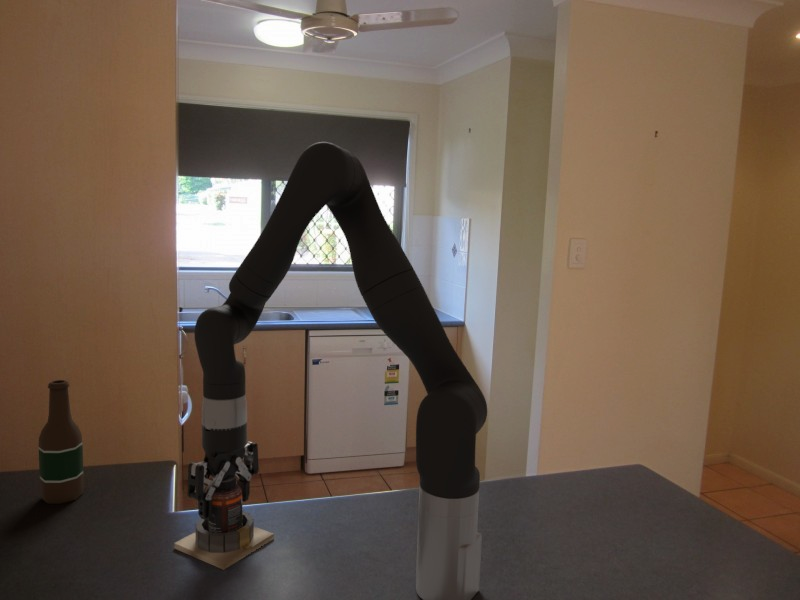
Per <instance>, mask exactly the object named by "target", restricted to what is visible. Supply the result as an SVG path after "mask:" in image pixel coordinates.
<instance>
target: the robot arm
mask: <svg viewBox="0 0 800 600" xmlns="http://www.w3.org/2000/svg"><path fill="white" fill-rule="evenodd" d="M361 162H362V161H360V159H359V158H358V157H357V156H356V155H355V154H354V153H352V152H351V151H349V150H347V149H345V148H343V147H341V146H339V145H337V144H334V143H332V142H327V141H321V142H320V141H319V142H315V143H313V144H311V145H309V146H308V147H307V148H306V149H304V151H302V153H301V154H300V156H299V158H298V159H297V160H296V162H295V164H294V167H293V169H292V171H291V173H290V175H289V178H288V180H287V182H286V184H285V186H284V189H283V191H281V194H280V197H279V199H278V201H277V202H276V205H275V207H274V210H273V211H272V213H271V214H270V217H269V218H268V221H267V222H266V225H265V226H264V227H263V230H262V232H261V233H260V235H259V236H258V237H257V240H256V241H255V243H254V244H253V246H252V248H251V249H250V250H249V252H248V253H247V254H246V256H245V257H244V259H243V260H242V261H241V263H240V265H239V266H238V268H237V269H236V271H235V272H234V273H233V275H232V277H231V278H230V281H229V284H228V290H229V292H230V293H229V295H228V296H227V298H226V300H225V301H224V302H223V304H221V305H219V306H214V307H211V308H207V309H205V310H204V311H202V312H201V313H200V315H198V317H197V320H196V321H195V325H194V335H193V336H194V344H195V348H196V351H197V355H198V360H199V363H200V366H201V368H202V369H201V370H202V372H203V373H202V375H203V376H202V405H201V447H202V449H203V451H204V457H203V460H202V461H199V462H193V461H192V462H190V463H189V464H188V469H187V471H188V473H187V497H188V498H190V499H193V500H196V501H198V502H197V505H198V506H197V507H198V509H197V510H198V511H197V512H198V516H199V518H202V519H204V520H207V521H208V520H210V519H212V499H211V497H212V495H213V492H214V490H215V489H216V488H217V487H219V485H220V483H221V481H222V480H224V479H226V478H227V477H229V476H233V475H236V478H238V479H236V484H237V485H238V486H239V487H240V488H241V490H242V503H244V502H247V501H249V497H250V494H251V491H250V488H251V486H250V483H251V482H250V481H251V480H252V476H254V475H257V474H258V473H259V468H260V467H259V448H258V447H259V446H258V443H256V442H253V441H251V440H250V441H249V440H248V409H247V408H248V404H247V399H246V398H247V397H246V369H245V365H244V363H243V362H241V361H240V360H238V359H236V352H235V345H237V344H239V343H241V342H243V341H244V340H245V339H246V338H247V337H249V335H250V334H251V333H252V332H253V330H255V329H254V328H255V327H256V325H257V324H258V321H259V319H260V317H261V315H262V313H263V310H264V309H265V305H266V303H267V302H268V301H269V300H270V298H271V297H272V296H273V294H274V293H275V291H276V290H277V289H278V287H279V286H280V284H282V281H283V280H284V279H285V277H286V275H287V274H288V273H289V270H290V269H291V266H292V263H294V262H293V261H294V259H295V256H296V253H297V250H298V247H299V244H300V241H301V239H302V236H303V234H304V233H305V231H306V229H307V228H308V226H309V225H310V224H311V222H312V220H313V219H314V218H315V217H316V216H317V214H318V213H319V212H320V211H321V210H322V209H323V208H324V207H325V206H326V207H327V208H328V210H329V211H330V212H331V214H332V216H333V217H334V219H335V220H336V222H337V224H338V226H339V227H340V229H341V231H342V233H343V235H344V237H345V240H346V243H347V245H348V249H349V254H350V261H351V266H352V270H353V275H354V279H355V283H356V286H357V288H358V291H359V293H360V295H361V296H362V299H363V301H364V303H365V306H366V307H367V309H368V311H369V313H370V315H371V316H372V318H373V320H374V322H375V323H376V324H377V326H378V327H379V329H380V330H381V331H382V332H383V333H384V334H385V335H386V337H387V338H388V339H389V340H390V341H391V342H392V343H393V344H394V345H395V346H396V347H397V348H398V349H399V350H400V351H401V352H403V354H404V355H405V356H406V357H407V358H408V360H409V361H410V363H411V364H412V366H413V367H414V369H415V370H416V372H417V374H418V376H419V378H420V380H421V382H422V384H423V387H424V389H425V392H426V394H427V395H425V396H424V397H423V399H422V400H421V402H420V403H419V405H418V409H417V412H416V413H417V414H416V420H415V421H416V422H415V464H416V465H415V466H416V470H417V472H418V475H419V488H418V489H419V491H418V511H417V512H418V513H417V515H418V516H417V538H416V539H417V541H416V545H417V546H416V547H417V548H416V571H415V572H416V573H415V592H416V594H417V595H418V597H419V598H420V599H422V600H472V599H473V598H474V597H475V596H476V594H477V593H478V592H479V590H480V577H481V575H480V574H481V561H482V560H481V558H482V557H481V556H482V541H483V540H482V538H483V537H482V536H483V535H482V533H481V532H479V531H478V518H479V516H478V515H479V500H480V499H479V498H480V497H479V496H480V481H481V480H480V478H481V475H480V474H481V473H480V470H479V468H478V467H477V466H476V443H477V442H476V439H477V434H478V433H479V432H480V431H481V429H482V428H483V427H484V425H485V423H486V422H487V421H486V420H487V416H488V404H487V400H486V396H485V395H484V394H483V392H482V390H481V389H480V386H479V385H478V384H477V382H476V381H475V379H474V378H473V376H472V375H471V373H470V371H469V370H468V369H467V367H466V365H464V363H463V361H462V359H461V357H460V356H459V355H458V353H457V351H456V350H455V348H454V346H453V345H452V342H451V341H450V339H449V337H448V334H447V333H446V330H445V329H444V326H443V324H442V322H441V320H440V319H439V316H438V314H437V312H436V311H435V309H434V307H433V304H432V303H431V300H430V299H429V296H428V294H427V292H426V290H425V288H424V286H423V284H422V282H421V280H420V278H419V276H418V274H417V273H416V270H415V268H414V266H413V265H412V263H411V262H410V260H409V259H408V256H407V255H406V253H405V251H404V249H403V247H402V245H401V244H400V242H399V241H398V238H397V237H396V235H395V234H394V232H393V231H392V229H391V228H390V226H389V224H388V223H387V220H386V218H385V217H384V215H383V213H382V210H381V208H380V205H379V203H378V201H377V198H376V196H375V193H374V191H373V188H372V186H371V182H370V180H369V178H368V176H367V173H366V170H365V168H364V166H363V164H362V163H361ZM210 477H212V479H211V480H210ZM213 478H215V479H214V480H213Z"/></svg>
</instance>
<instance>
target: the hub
mask: <svg viewBox="0 0 800 600" xmlns="http://www.w3.org/2000/svg"><path fill="white" fill-rule="evenodd" d="M242 515H243V527H242V528H240V529H238V530H236V531H232V532H228V533H212V532H209V531H208V521H207V520H204V519H202V518H201V517H199V519H198V521H196V524H195V531H194V532H193V533H191V534H189V535H187V536H185V537H183V538H181V539H179V540H178V541H175V542H174V543H173V545H174V546H173V548H174V549H175V550H177V551H179V552H180V553H181V552H182V553H183V554H186V555H189V556H190V557H193V558H196V559H197V560H199V561H202V562H203V563H204V562H205V563H207V564H209V565H212V566H214V567H216V568H218V569H221V570H223V571H224V570H226V569H227V568H229V567H231V566H232V565H234V564H235V563H237V562H239V561H241V560H242V559H243V558H244V559H245V557H247V556H248V554H249V553H250V554H252V553H254V552H255V551H257V550H258V549H260V548H262V547H263V546H265V545H266V544H269V543H270V542H272V541H273V540H274V539H275V535H274V534H275V533H273V532H270V531H267V530H265V529H263V528H259V527H257V526H255V525H254V523H255V519H254V517H253V516H252V515H251V513H248V512H247V511H244V510H242ZM269 541H270V542H269ZM264 544H265V545H264ZM261 546H262V547H261ZM256 549H257V550H256ZM251 552H252V553H251ZM250 554H249V555H250ZM246 555H247V556H246Z"/></svg>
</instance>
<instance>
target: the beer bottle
mask: <svg viewBox="0 0 800 600" xmlns="http://www.w3.org/2000/svg"><path fill="white" fill-rule="evenodd" d="M69 387H70V383H69V381H68V380H64V379H59V380H58V379H56V380H53V381H50V382H48V385H47V389H49V394H48V395H49V396H48V400H49V401H48V415H47V416H48V417H47V422H46V423H45V425H44V426H43V428H42V429H41V432H40V434H39V437H38V464H39V465H38V466H39V467H38V468H39V470H38V472H39V490H40V491H39V492H40V498H41V499H42V500H43V502H44V503H46V504H47V505H49V504H51V505H53V504H54V505H55V504H56V505H57V504H58V505H59V504H61V505H62V504H65V503H69V502H72V501H76V500H77V499H78V498H79V497H81V496H82V495H83V493H84V491H85V490H84V488H85V487H84V486H85V480H84V478H85V477H84V453H83V451H84V446H83V437H82V436H83V435H82V432H81V430H80V428H79V426H78V424H76V422H75V421H74V419H73V418H72V413H71V407H70V406H71V405H70V398H69V397H70V396H69V389H68V388H69Z"/></svg>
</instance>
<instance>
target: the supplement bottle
mask: <svg viewBox="0 0 800 600" xmlns="http://www.w3.org/2000/svg"><path fill="white" fill-rule="evenodd" d="M214 479H215V478H213V477H212V480H214ZM211 499H212V519H210V520H208V531H209V532H212V533H228V532H232V531H236V530H238V529H240V528H242V527H243V515H242V511H243V501H242V490H241V488H240V487H239V486H238V485H237V476H236V475H233V476H229V477H227V478H226V479H224V480H222V481H221V483H220V485H219V487H217V488H216V489H215V490H214V492H213V495H212V497H211Z"/></svg>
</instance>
